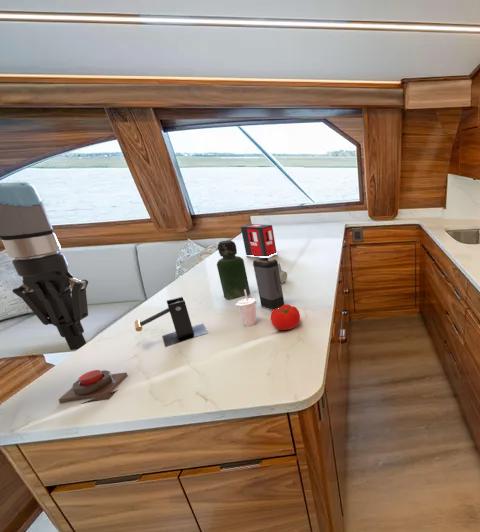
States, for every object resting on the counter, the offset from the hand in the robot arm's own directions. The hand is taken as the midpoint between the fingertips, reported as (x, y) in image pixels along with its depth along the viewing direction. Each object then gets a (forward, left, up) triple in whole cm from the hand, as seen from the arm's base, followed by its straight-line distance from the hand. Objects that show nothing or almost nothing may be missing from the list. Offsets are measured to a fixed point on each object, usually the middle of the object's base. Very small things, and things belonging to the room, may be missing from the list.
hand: (78, 346), depth 73 cm
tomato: (+44, +24, -14) cm, 52 cm away
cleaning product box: (+15, +123, -14) cm, 125 cm away
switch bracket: (+11, +24, -14) cm, 30 cm away
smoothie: (+31, +27, -14) cm, 43 cm away
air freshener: (+33, +70, -14) cm, 79 cm away
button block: (0, 0, -14) cm, 14 cm away
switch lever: (+7, +22, -4) cm, 23 cm away
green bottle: (+18, +58, -14) cm, 62 cm away
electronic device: (+36, +42, -14) cm, 57 cm away
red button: (0, 0, -10) cm, 10 cm away
